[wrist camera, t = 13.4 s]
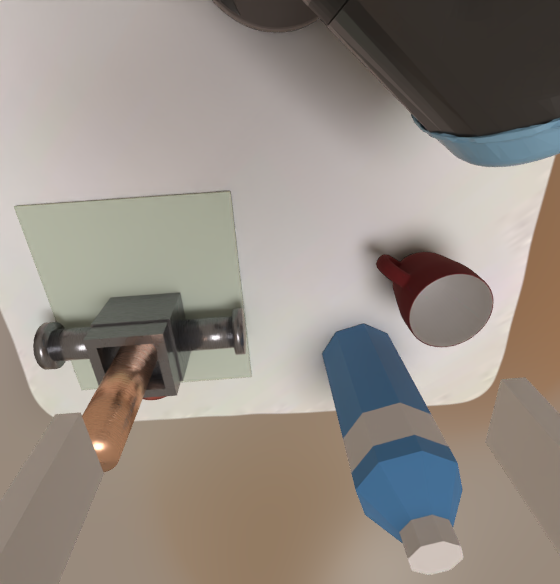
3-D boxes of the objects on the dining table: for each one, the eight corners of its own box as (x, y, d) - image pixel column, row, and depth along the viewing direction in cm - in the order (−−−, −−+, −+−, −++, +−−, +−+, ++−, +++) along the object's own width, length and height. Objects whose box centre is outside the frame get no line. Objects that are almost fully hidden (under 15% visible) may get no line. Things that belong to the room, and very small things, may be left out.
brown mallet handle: (115, 339, 40) (56, 438, 29) (154, 336, 40) (111, 433, 29) (124, 370, 42) (73, 475, 30) (161, 367, 42) (124, 470, 30)
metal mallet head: (49, 301, 44) (6, 344, 37) (241, 287, 45) (237, 326, 37) (76, 376, 49) (43, 427, 42) (249, 363, 50) (248, 411, 42)
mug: (348, 281, 46) (370, 326, 37) (380, 219, 42) (412, 251, 34) (424, 308, 48) (463, 357, 39) (460, 250, 45) (511, 288, 36)
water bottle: (366, 309, 48) (460, 498, 25) (407, 355, 51) (522, 557, 29) (307, 353, 50) (346, 559, 28) (350, 393, 53) (415, 607, 31)
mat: (16, 205, 40) (13, 206, 40) (230, 191, 40) (230, 191, 40) (83, 388, 51) (81, 390, 50) (251, 375, 51) (251, 377, 51)
